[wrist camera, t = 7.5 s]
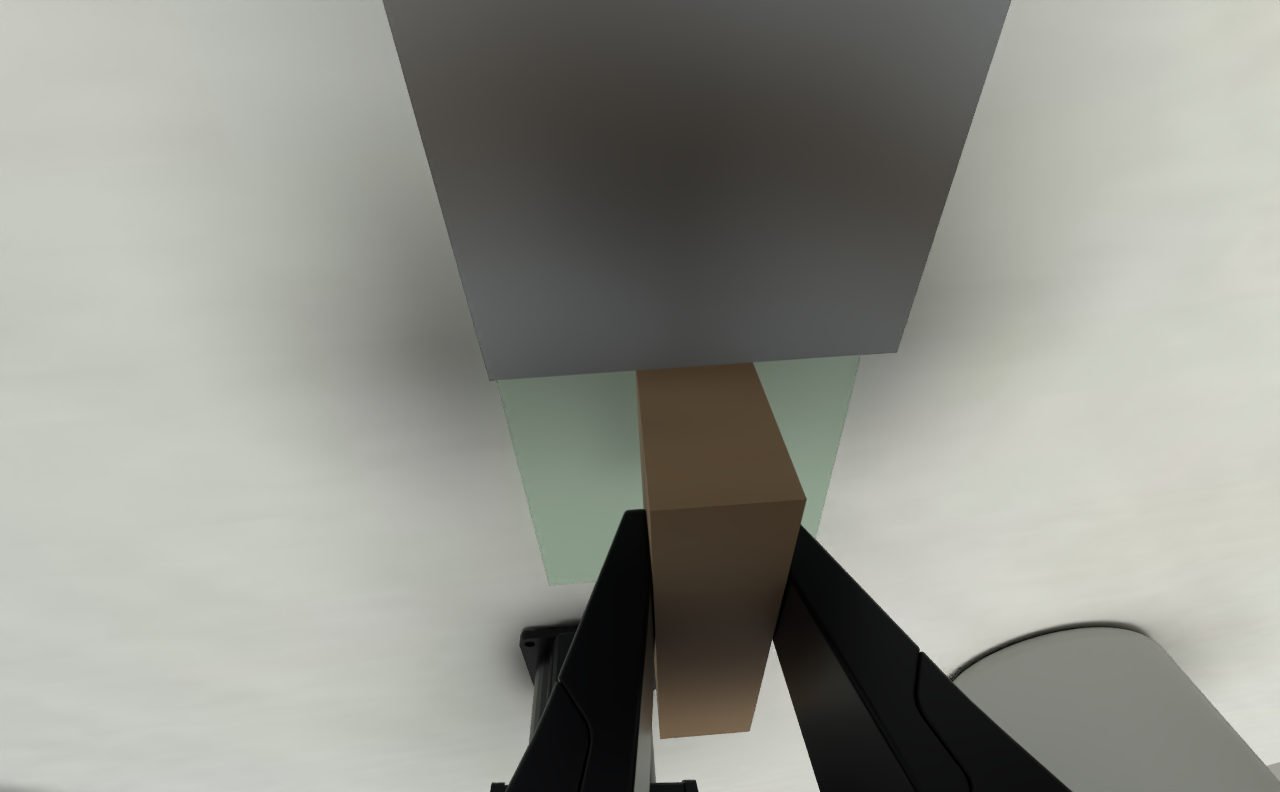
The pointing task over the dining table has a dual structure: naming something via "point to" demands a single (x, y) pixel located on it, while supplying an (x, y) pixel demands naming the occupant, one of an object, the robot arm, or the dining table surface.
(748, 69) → the spatula
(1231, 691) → the dining table surface
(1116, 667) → the cylinder vase
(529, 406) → the mat
